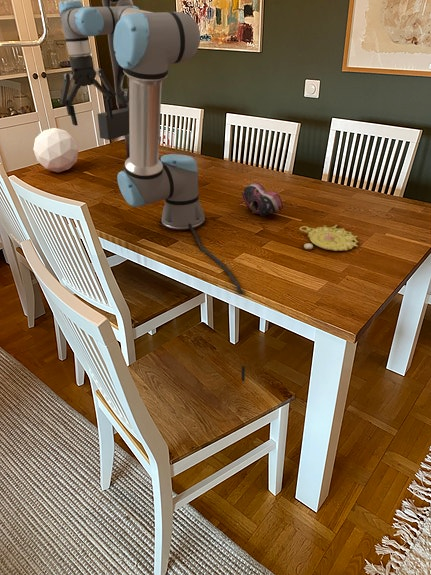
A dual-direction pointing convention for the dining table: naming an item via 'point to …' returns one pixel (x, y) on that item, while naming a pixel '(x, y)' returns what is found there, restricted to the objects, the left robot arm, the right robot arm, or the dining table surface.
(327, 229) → the decorative object
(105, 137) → the bar
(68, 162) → the sphere
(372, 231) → the dining table surface
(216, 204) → the dining table surface
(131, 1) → the left robot arm
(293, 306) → the dining table surface
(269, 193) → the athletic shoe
